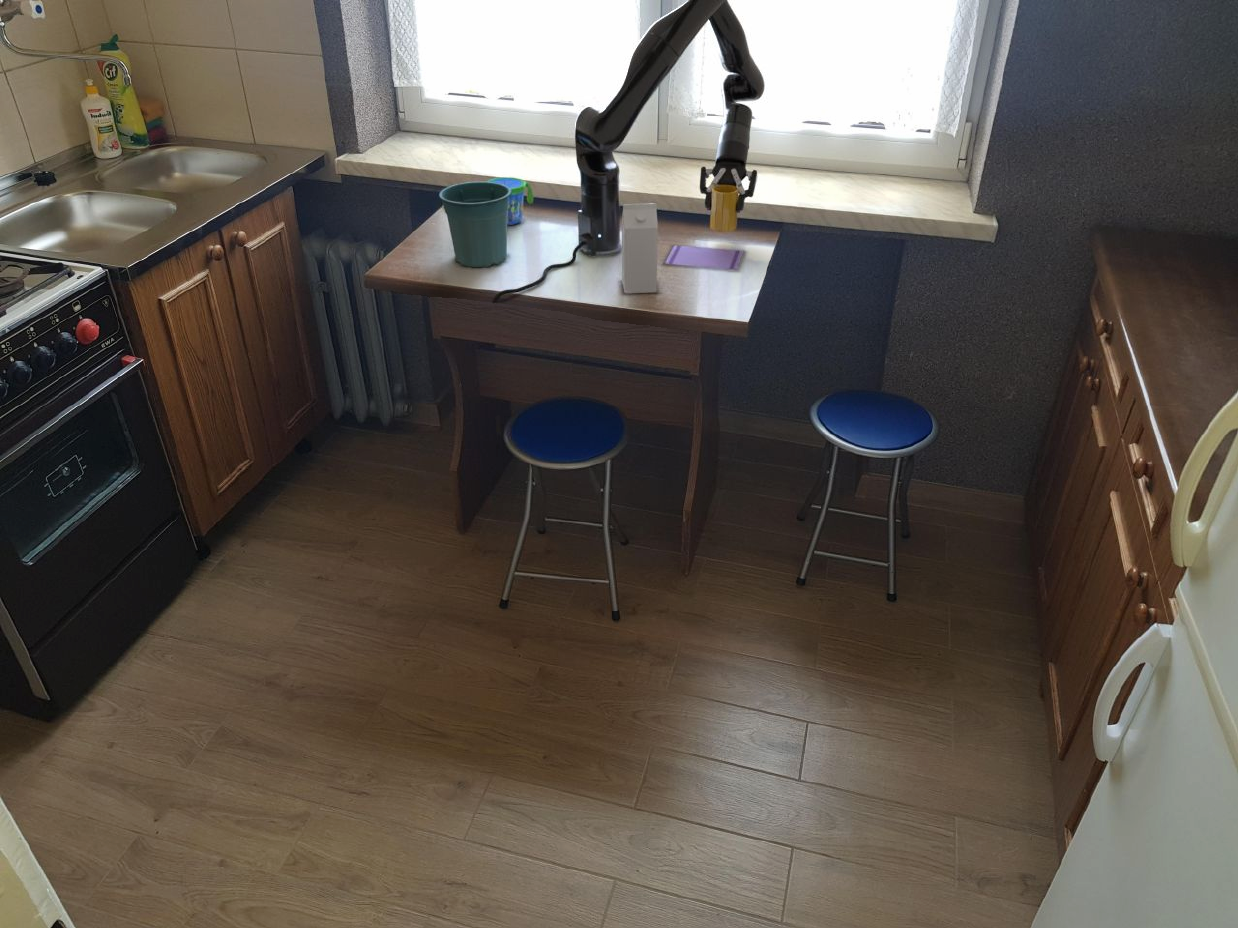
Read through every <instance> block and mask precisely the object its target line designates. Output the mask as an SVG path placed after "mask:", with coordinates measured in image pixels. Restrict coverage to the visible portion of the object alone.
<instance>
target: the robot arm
mask: <svg viewBox="0 0 1238 928" xmlns="http://www.w3.org/2000/svg"><path fill="white" fill-rule="evenodd" d="M707 23H708V24H709V26H710V29H711V31H712V34H713V37H714V41H715V44H716V48H717V53H718V55H719V59H720V63H721V65H722V68H723V70H725V71H726V72H727V73H726V74H725V75H724V76H723V77H722V79H721V81H720V90H721V96H722V104H723V117H722V123H721V128H720V133H719V136H718V142H717V148H716V149H717V150H716V154H715V155H716V156H715V162H714V165H713V167H712V168H707V167H706V166H702V167H701V168H700V177H699V191H700V194H702V195H705V198H704V206H705V207H704V208H706V210H707V211H710V210H711V188H712V187H714V186H717V185H733V186H736V187H738V189H739V196H738V203H737V214H740V213H741V212H743V211H744V207H745V200H746V199H747V198H753V196H754V193H755V189H756V185H757V180H758V171H757V170H756V169H753V170H752V171H751V170H747V168H746V167H747V161H748V156H749V155H748V154H749V151H750V150H749V149H750V141H751V126H752V120H753V110H752V108H751V107H750V106H748V105H746V104H744V103H741V102H753V101H757V100H759V99H760V98H762V97H763V94H764V91H765V80H764V76H763V74H762V72H761V70H760V69H759V66H758V65H757V64H756V62H755V60H754V58H753V57H752V55H751V53H750V49H749V44H748V40H747V36H746V32H745V29H744V28H743V26H742V23H741V22H740V20H739V18H738V17H737V14H736V13H735V12H734V10H733V8H732V6H731V5H730V2H729V0H687V1H686V2H684V3H683V4H681V5H680V6H679V7H677V8H676V9H674V10H672V11H671V12H669V13H667V14H666V15H664V16H662V17H660V18H659V19H658V20H656V21H655V22H654V23H653V24H652V25H651V26H650V27H649V28H648V29H647V31H646V32H645V33H644V35H643V36H642V37H641V39H640V40H639V42H638V43H637V44H636V46H635V48H634V50H633V51H632V53H631V56H630V58H629V62H628V65H627V69H626V72H625V76H624V79H623V82H622V84H621V86H620V88H619V90H618V92H617V93H616V94H615V95H614V97H613V98H612V99H611V101H610V102H609V103H608V105H606V107H604V106H602V105H599V104H590V105H587V106H585V107H583V108H582V109H581V111H580V112H579V113H578V115H577V117H576V120H575V125H574V126H575V127H574V139H575V140H574V141H575V142H574V144H575V158H576V165H577V169H578V171H579V177H580V179H579V180H580V210H578V211H577V233H578V234H577V235H578V245H576V247H574V249H573V251H572V257H571V259H570V260H569V261H567V262H563V263H555V264H551V265H548V266H546V268H544V270H543V272H542V276H541V277H540V278H539V279H537V280H535V281H533V282H530V283H529V284H526V285H523V286H520V287H517V288H510V289H504V290H501V291H499V292H497V294H496V295H495V296H494V297H493V298H492V301H491V302H492V303H496V302H497V301H498V300H499V299H500V298H501V297H502V296H504V295H506V294H507V295H508V294H516V293H520V292H522V291H525V290H528V289H531V288H533V287H536V286H538V285H540V284H541V283H542V282H544V281H545V280H546V277H547V275H548V272H549V271H551V270H552V269H558V268H565V267H568V266H572V265H573V264H574V263H575V262H576V261H577V254H578V251H581V252H583V253H585V254H586V255H588V256H590V257H600V256H601V257H603V256H606V257H607V256H611V255H615V254H617V253H619V252H620V251H621V218H620V217H621V198H620V197H621V195H620V194H621V192H620V191H621V187H620V186H621V178H620V177H621V176H620V175H621V173H620V172H621V171H620V166H619V164H618V163H617V160H616V159H615V156H614V153H613V152H614V151H616V150H617V149H618V148H619V147H620V146H621V145H622V144H623V142H624V141H625V139H626V137H627V136H628V134H629V133H630V132H631V130H632V128H633V126H634V125H635V122H636V121H637V120H638V117H639V116H640V114H641V112H642V111H643V109H644V108H645V106H646V105H647V104H648V103H649V101H650V99H651V98H652V97H653V95H654V94H655V92H656V91H657V89H658V88H659V87H660V85H661V84H662V82H663V81H664V80H665V78H667V76H668V75H669V73H671V72H672V70H673V68H675V66H676V64H677V63H678V61H679V60H680V59H681V58H682V56H683V54H684V53H685V51H686V50H687V49H688V47H689V45H690V44H691V43H692V42H693V41H694V40H695V38H696V36H697V35H698V34H699V33H700V31H701V30H702V29H703V28H704V26H705V25H706V24H707ZM710 175H712V176H713V178H712V180H711V182H710V184H709V186H707V179H709V178H710ZM745 178H747V180H748V181H749V183H748V187H747V188H748V189H745V188H744V186H743V183H742V181H743V180H744V179H745ZM500 421H501V420H500V415H497V416H495V426H496V427H495V428H496V435H497V436H501V422H500Z"/></svg>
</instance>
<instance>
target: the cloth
mask: <svg viewBox="0 0 1238 928" xmlns="http://www.w3.org/2000/svg"><path fill="white" fill-rule="evenodd" d="M743 253H744V250H738V249H737V250H736V249H723V248H714V247H699V246H689V245H676V244H674V245H673V247H672V249H671V251H670V253H669V255H668V257H667V258H666V260H665V262H664V264H665V265H677V266H686V267H687V266H688V267H698V268H708V269H709V268H710V269H721V270H731V271H732V270H733V271H737V270H738V268H739V265H740V262H741V259H742V256H743Z"/></svg>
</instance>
